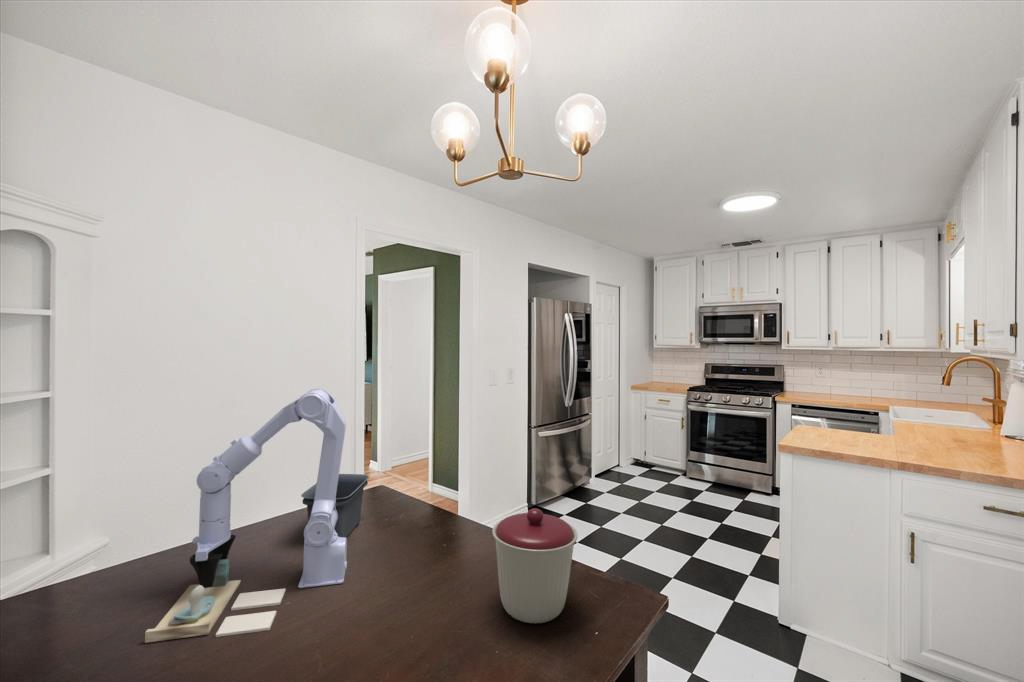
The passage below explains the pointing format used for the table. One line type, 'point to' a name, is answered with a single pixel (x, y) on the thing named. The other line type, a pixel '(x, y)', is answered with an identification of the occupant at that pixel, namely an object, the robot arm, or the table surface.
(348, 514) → the storage bin
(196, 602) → the pacifier
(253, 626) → the broken strip
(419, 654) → the table surface
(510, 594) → the canister
